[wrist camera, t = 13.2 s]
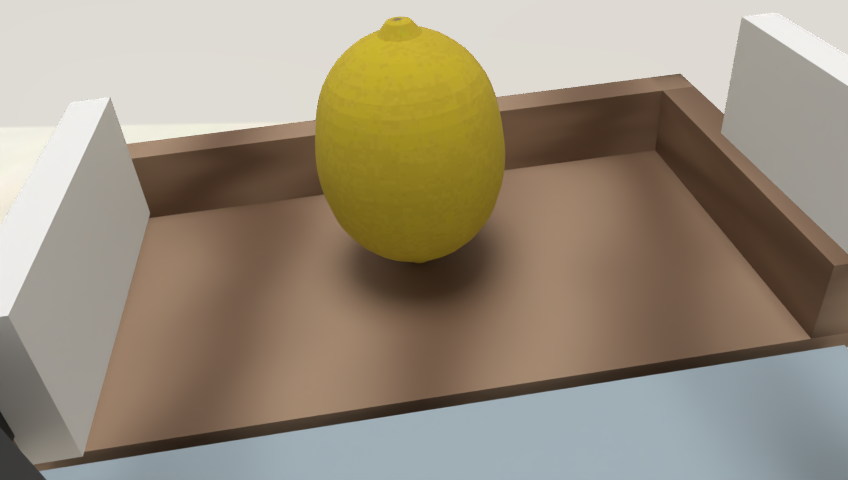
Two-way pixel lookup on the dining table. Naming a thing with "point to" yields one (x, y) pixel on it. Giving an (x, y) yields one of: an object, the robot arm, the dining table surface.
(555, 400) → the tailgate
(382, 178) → the lemon
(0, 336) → the robot arm
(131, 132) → the dining table surface
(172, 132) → the dining table surface
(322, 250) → the brown wooden tray
